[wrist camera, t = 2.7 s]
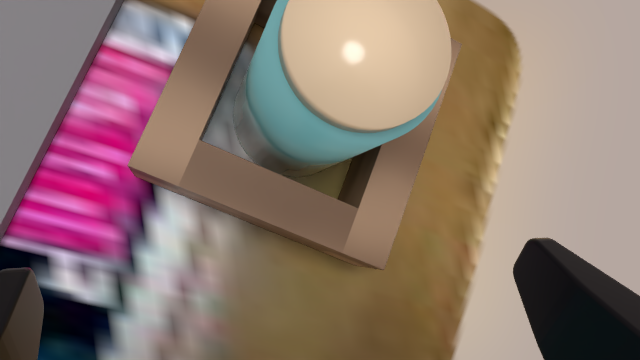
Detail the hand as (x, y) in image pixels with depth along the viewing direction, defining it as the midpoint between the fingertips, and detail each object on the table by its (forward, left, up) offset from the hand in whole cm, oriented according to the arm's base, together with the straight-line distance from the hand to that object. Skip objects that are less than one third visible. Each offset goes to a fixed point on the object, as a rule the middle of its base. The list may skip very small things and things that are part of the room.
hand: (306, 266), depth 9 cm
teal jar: (+4, -5, -14) cm, 15 cm away
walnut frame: (+4, -5, -14) cm, 15 cm away
